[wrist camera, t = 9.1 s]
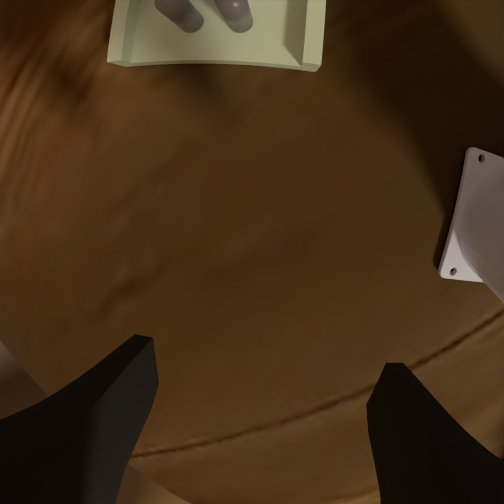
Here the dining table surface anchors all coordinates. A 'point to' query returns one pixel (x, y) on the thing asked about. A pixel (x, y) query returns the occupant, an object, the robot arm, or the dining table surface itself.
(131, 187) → the dining table surface
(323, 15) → the tray
